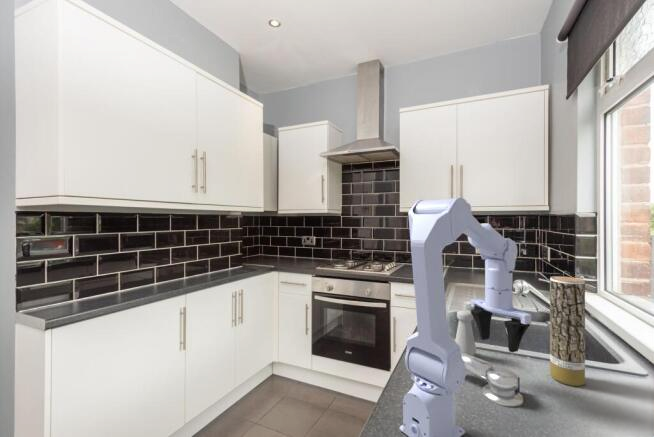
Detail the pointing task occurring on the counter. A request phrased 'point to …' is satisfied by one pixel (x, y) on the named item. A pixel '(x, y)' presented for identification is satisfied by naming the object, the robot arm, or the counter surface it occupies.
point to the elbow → (491, 373)
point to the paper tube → (567, 330)
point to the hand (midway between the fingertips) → (498, 344)
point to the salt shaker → (465, 333)
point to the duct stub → (503, 396)
